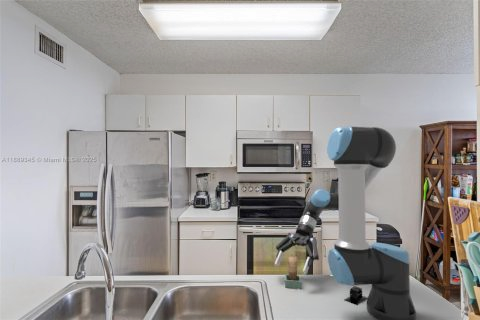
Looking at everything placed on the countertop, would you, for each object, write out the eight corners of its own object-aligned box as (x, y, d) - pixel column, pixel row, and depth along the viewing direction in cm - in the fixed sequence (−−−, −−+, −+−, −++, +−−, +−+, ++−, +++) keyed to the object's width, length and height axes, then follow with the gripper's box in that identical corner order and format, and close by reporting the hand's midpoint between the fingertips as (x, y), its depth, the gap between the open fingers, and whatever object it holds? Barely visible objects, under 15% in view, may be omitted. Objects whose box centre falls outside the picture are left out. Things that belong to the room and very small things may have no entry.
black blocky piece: (357, 309, 99) (356, 296, 99) (338, 301, 104) (338, 289, 104) (372, 299, 107) (372, 287, 107) (354, 292, 112) (354, 281, 112)
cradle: (301, 288, 114) (301, 281, 114) (285, 287, 115) (285, 280, 115) (300, 282, 121) (300, 275, 121) (285, 281, 122) (285, 274, 122)
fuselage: (297, 287, 116) (297, 258, 116) (288, 286, 116) (288, 257, 117) (296, 283, 119) (296, 255, 120) (288, 282, 120) (288, 255, 120)
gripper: (334, 236, 122) (320, 281, 110) (285, 228, 138) (269, 266, 126) (329, 226, 119) (315, 271, 106) (280, 219, 134) (262, 257, 122)
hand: (290, 269), depth 116 cm, fingers open, 13 cm apart
